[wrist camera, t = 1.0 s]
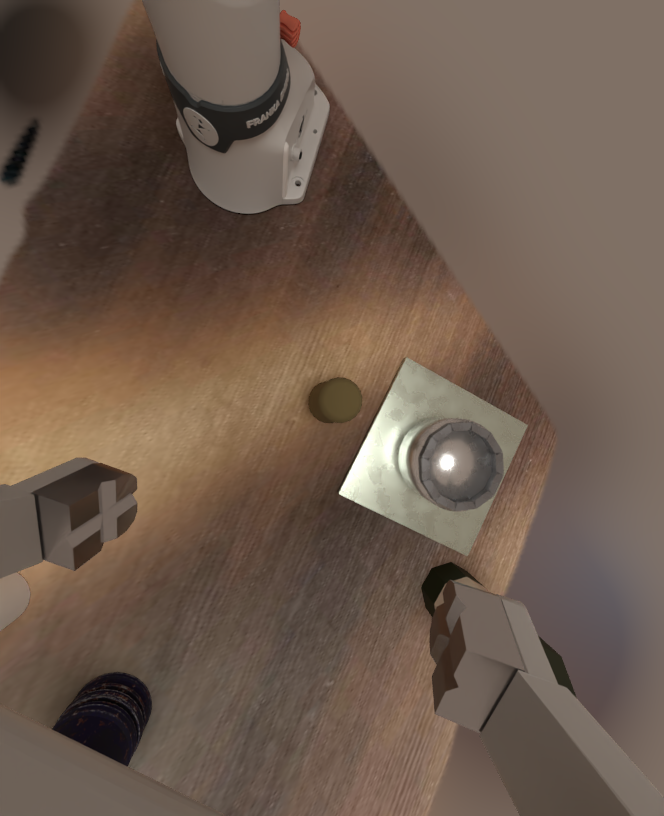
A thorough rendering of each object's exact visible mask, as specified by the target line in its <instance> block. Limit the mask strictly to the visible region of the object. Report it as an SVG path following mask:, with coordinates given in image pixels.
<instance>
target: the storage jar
mask: <svg viewBox="0 0 664 816" xmlns="http://www.w3.org/2000/svg"><path fill="white" fill-rule="evenodd" d="M151 709H152V701H151V696H150V693H149V691H148V689H147V687H146V686H145V685H144V683H143V682H142V681H140V680H139V679H138V678H136V677H134V676H132V675H130V674H126V673H117V672H116V673H108V674H104V675H101V676H99V677H97V678H95V679H93V680H92V681H90V682H89V683H88V684H86V685H85V686H84V687H83V688H82V690H81V691H80V692H79V694H78V695H77V696H76V698H75V699H74V701H73V702H72V703H71V704H70V705H69V706H68V707H67V708H66V710H65V711H64V712H63V714H62V715H61V716H60V718H59V719H58V720H57V722H56V724H55V726H54V727H53V728H52V730H54V731H56V732H58V733H60V734H62V735H64V736H66V737H68V738H70V739H72V740H74V741H76V742H78V743H80V744H82V745H85V746H87V747H89V748H91V749H93V750H95V751H97V752H99V753H101V754H103V755H105V756H107V757H109V758H111V759H113V760H115V761H117V762H119V763H121V764H123V765H125V766H128V764H129V762H130V760H131V758H132V756H133V754H134V752H135V751H136V749H137V746H138V744H139V742H140V739H141V737H142V733H143V730H144V728H145V726H146V724H147V722H148V720H149V717H150V714H151Z"/></svg>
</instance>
